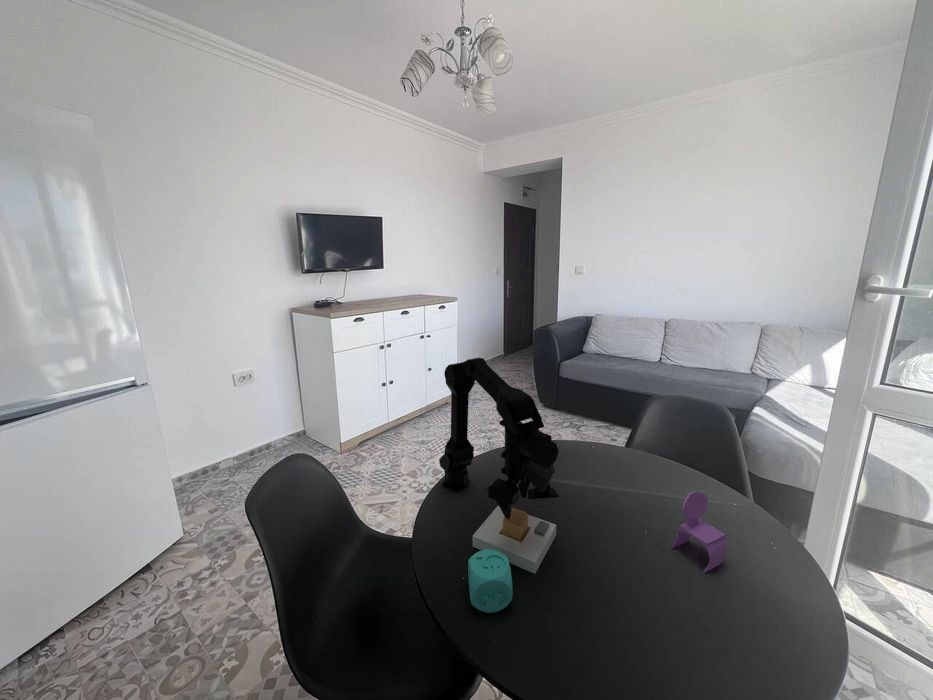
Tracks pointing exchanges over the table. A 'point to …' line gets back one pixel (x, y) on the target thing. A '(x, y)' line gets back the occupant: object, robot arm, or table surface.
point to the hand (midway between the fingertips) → (516, 507)
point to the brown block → (516, 525)
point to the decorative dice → (489, 581)
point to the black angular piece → (542, 492)
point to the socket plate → (517, 553)
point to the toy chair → (701, 529)
